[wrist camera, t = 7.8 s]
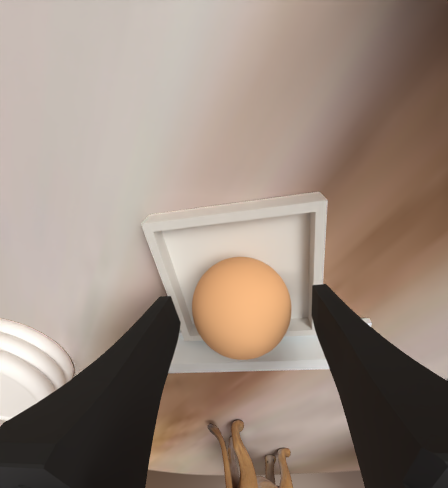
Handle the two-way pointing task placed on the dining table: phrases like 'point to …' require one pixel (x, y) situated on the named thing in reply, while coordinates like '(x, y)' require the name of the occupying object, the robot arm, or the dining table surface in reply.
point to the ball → (241, 308)
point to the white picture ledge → (280, 358)
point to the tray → (242, 249)
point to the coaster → (28, 367)
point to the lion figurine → (249, 463)
